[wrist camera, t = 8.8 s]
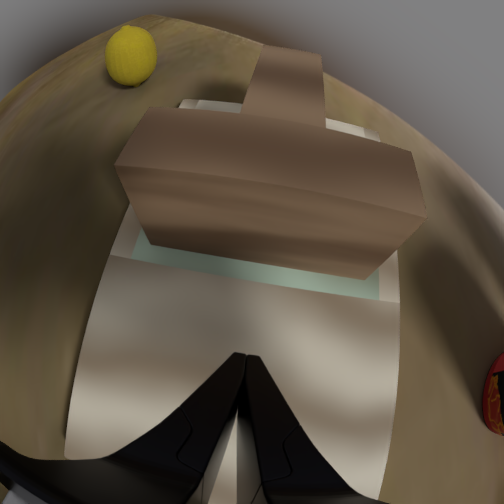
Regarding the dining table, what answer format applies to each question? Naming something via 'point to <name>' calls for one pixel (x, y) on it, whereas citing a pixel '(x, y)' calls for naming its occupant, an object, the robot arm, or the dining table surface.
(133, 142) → the t block
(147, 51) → the lemon
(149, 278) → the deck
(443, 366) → the dining table surface
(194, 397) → the robot arm
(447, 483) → the dining table surface
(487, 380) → the canned food
